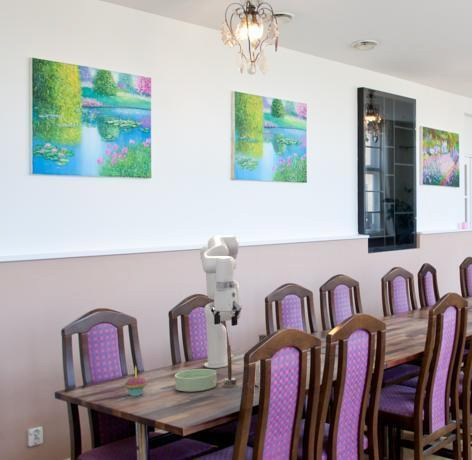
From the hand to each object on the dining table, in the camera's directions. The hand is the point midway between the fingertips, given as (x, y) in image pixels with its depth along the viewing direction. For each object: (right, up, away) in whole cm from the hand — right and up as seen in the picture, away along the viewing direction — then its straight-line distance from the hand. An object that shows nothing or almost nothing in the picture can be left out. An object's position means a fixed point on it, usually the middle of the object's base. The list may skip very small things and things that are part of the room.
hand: (225, 324), depth 281 cm
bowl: (-12, -27, -2) cm, 30 cm away
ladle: (+2, -27, 0) cm, 27 cm away
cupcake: (-34, -28, -12) cm, 46 cm away
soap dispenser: (+17, -27, +1) cm, 32 cm away
